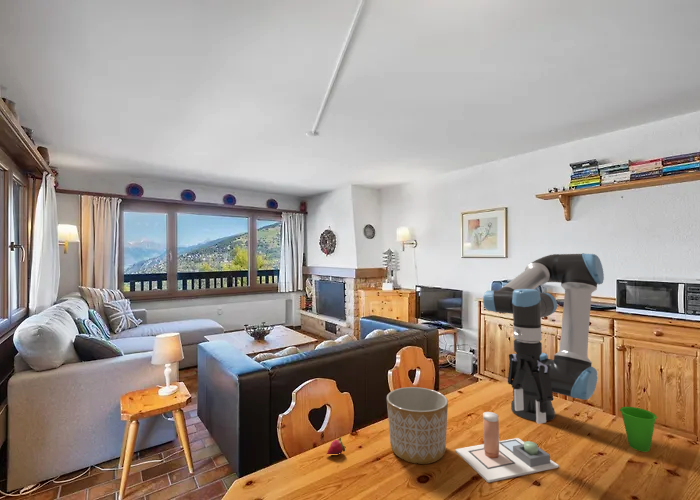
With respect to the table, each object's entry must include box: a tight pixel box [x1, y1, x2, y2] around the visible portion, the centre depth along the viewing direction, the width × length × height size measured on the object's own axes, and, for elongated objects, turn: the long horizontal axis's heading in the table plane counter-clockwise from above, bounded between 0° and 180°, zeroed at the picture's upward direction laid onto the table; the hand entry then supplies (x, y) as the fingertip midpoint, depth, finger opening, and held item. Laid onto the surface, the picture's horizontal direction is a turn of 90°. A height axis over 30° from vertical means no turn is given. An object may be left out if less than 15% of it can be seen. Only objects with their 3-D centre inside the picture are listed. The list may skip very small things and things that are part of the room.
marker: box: [482, 411, 500, 458], centre depth 105 cm, size 4×4×12 cm
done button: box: [524, 440, 539, 456], centre depth 103 cm, size 4×4×2 cm
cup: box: [619, 406, 658, 453], centre depth 109 cm, size 9×9×11 cm
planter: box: [386, 386, 449, 465], centre depth 109 cm, size 19×19×16 cm
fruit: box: [326, 437, 346, 455], centre depth 107 cm, size 4×6×5 cm
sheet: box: [454, 437, 560, 483], centre depth 104 cm, size 16×24×1 cm, turn 105°
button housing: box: [513, 444, 551, 467], centre depth 103 cm, size 7×7×2 cm
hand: (529, 415), depth 103 cm, fingers open, 8 cm apart
